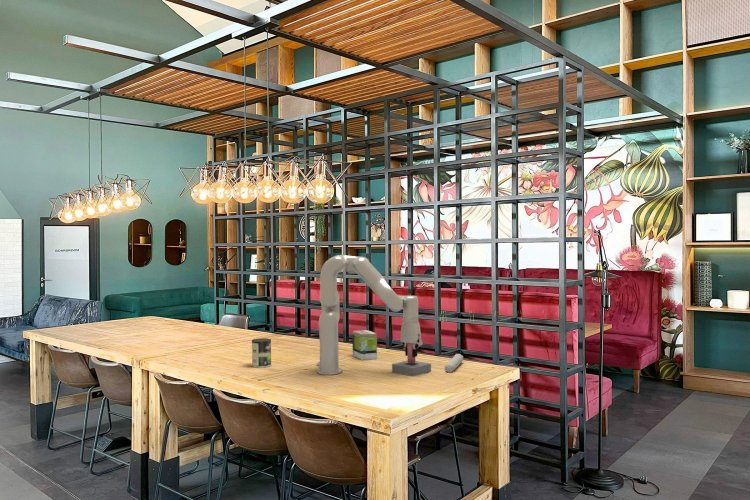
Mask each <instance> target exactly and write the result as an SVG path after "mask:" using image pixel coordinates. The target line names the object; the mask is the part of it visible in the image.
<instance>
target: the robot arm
mask: <svg viewBox="0 0 750 500" xmlns="http://www.w3.org/2000/svg"><path fill="white" fill-rule="evenodd" d="M341 272H347V273H356V274H357V275H358V276H359V277H360V278H361V279H362V280H363V282H365V283H366V285H367V286H368V287H369V288H370V289H371V290H372V292H373V293H375V294H376V296H377V297H378V298H379V299H380V301H382V302H383V303H384V304H385V306H387V308H388V309H390V311H392V312H400V311H401V310H403V314H402V315H403V316H402V321H403V322H402V323H401V328H400V340H399V342H400V343H401V344H402V345H403V348H404V349H405V350H404V352H405V357H407V343H413V350H412V356H413V357H415V358H417V357H418V349H419V348H420V347H421V346H423V340H422V333H421V332H422V331H421V326H420V322H419V299H418V296H416V295H398V294H397V293H396V292H395V291H394V290H393V288H392V287H391V286H390V285H389V284H388V282H387V280H386V279H385V277H384V276H383V275H382V274H381V273H380V272H379V270H377V269H376V267H375V266H374V265H373V264H372V263H371V262H370V260H369V259H368V258H367V257H365V256H355V255H353V256H352V255H343V254H342V255H341V254H339V255H334V256H332V257H330V258H328V259H327V260H326V261H325V262H324V263H323V265H322V267H321V269H320V275H319V278H320V279H319V280H320V281H319V283H320V284H319V288H320V289H319V302H320V304H321V313H320V315H319V319H318V332H319V333H318V334H319V361H318V363H316V367H318V369H317V370H316V373H317V374H319V375H323V376H324V375H325V376H329V375H330V376H331V375H332V376H333V375H338V374H341V373H343V370H342V368H340V365H339V364H340V363H339V360H340V359H339V358H340V357H339V355H340V353H339V350H340V349H339V321H340V317H341V316H340V313H341V312H340V309H341V308H340V294H339V292H338V285H337V284H338V274H339V273H341Z"/></svg>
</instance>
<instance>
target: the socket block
mask: <svg viewBox="0 0 750 500" xmlns="http://www.w3.org/2000/svg"><path fill="white" fill-rule="evenodd" d="M391 372H392V373H395V374H399V375H405V376H409V377H410V376H411V377H415V376H419V375H424V374H426V373H430V372H432V363H430V362H423V361H419V360H415V363H408V359H407V360H404V361H400V362H395V363H392V364H391Z"/></svg>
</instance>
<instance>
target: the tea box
mask: <svg viewBox="0 0 750 500" xmlns="http://www.w3.org/2000/svg"><path fill="white" fill-rule="evenodd" d="M351 335H352V357H355V358H357V359H359V360H361V361H366V360H367V361H368V360H369V361H370V360H377V358H378V334H377V332H374V331H371V330H368V329H366V330H365V329H364V330H361V329H360V330H353V331H352V333H351Z"/></svg>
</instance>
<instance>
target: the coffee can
mask: <svg viewBox="0 0 750 500" xmlns="http://www.w3.org/2000/svg"><path fill="white" fill-rule="evenodd" d="M251 349H252V350H251V359H252V360H251V361H252V363H251V364H252V365H251V367H253V368H258V369H260V368H261V369H262V368H264V369H265V368H268V367H271V366H272V339H271V338H268V337H267V338H254V339H252V340H251Z"/></svg>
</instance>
